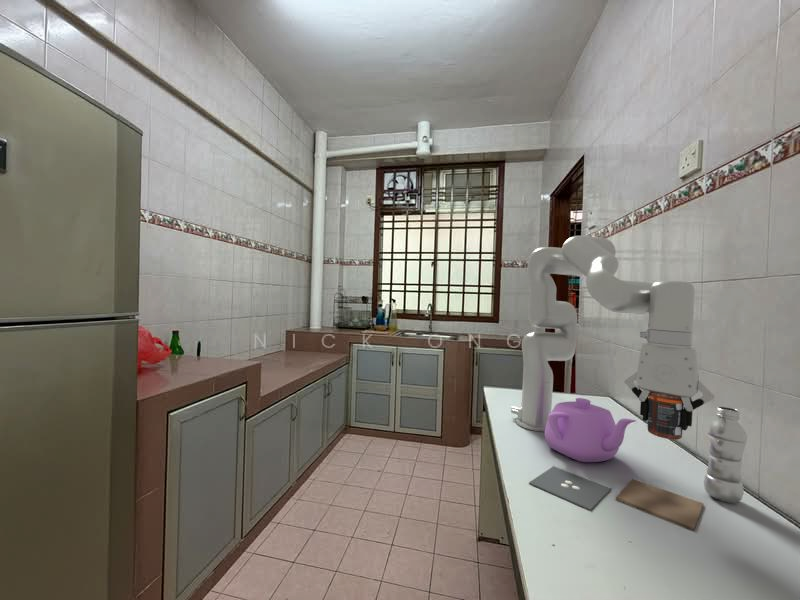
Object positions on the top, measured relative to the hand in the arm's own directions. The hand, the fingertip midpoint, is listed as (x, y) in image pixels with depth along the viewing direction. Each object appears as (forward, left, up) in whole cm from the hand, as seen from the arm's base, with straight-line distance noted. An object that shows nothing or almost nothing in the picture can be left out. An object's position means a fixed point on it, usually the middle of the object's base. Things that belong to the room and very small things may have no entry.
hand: (664, 423), depth 75 cm
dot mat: (-15, -9, -17) cm, 24 cm away
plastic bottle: (+9, +14, -17) cm, 24 cm away
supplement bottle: (0, 0, -3) cm, 3 cm away
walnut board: (0, 0, -17) cm, 17 cm away
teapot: (-20, +13, -17) cm, 30 cm away
